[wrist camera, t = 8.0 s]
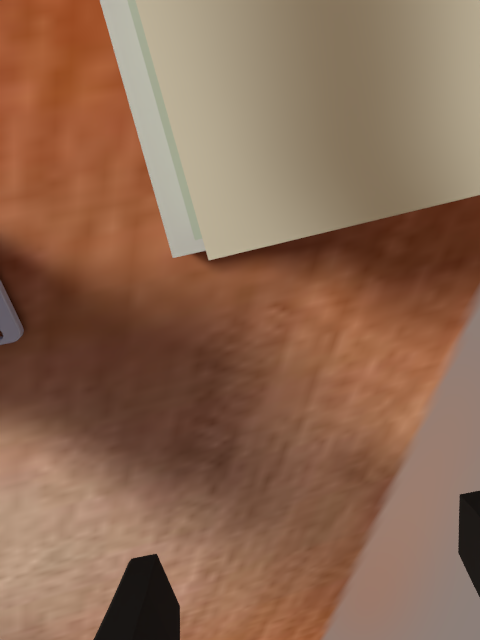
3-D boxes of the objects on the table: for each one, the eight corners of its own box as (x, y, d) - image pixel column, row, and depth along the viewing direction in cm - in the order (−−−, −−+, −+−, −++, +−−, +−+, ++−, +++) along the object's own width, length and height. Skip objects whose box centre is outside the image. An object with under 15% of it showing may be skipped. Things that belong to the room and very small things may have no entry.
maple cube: (218, 214, 12) (208, 260, 8) (166, 15, 10) (113, -78, 6) (386, 171, 12) (481, 194, 7) (366, -44, 10) (478, -195, 5)
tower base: (178, 241, 18) (173, 257, 16) (108, -17, 14) (87, -45, 12) (387, 195, 18) (413, 205, 15) (372, -82, 14) (403, -124, 11)
